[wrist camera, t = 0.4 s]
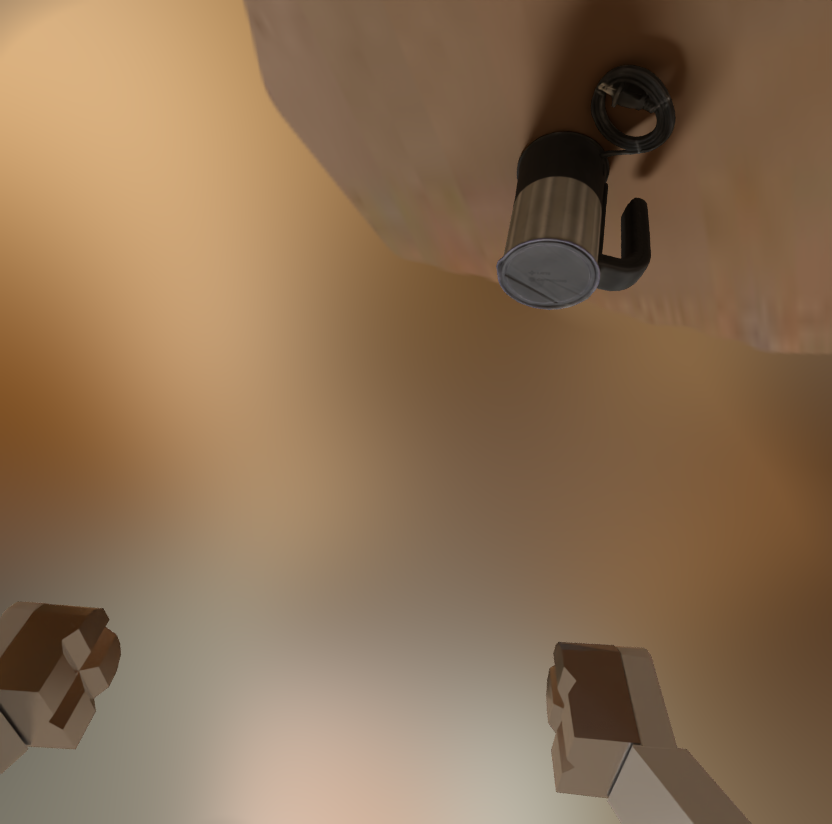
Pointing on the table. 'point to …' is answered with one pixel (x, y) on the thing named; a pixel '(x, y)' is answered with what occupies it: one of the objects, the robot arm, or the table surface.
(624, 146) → the milk frother
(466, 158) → the table surface
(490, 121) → the table surface
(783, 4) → the table surface
